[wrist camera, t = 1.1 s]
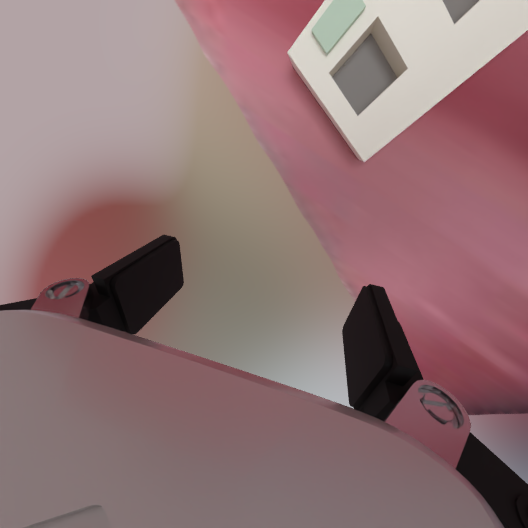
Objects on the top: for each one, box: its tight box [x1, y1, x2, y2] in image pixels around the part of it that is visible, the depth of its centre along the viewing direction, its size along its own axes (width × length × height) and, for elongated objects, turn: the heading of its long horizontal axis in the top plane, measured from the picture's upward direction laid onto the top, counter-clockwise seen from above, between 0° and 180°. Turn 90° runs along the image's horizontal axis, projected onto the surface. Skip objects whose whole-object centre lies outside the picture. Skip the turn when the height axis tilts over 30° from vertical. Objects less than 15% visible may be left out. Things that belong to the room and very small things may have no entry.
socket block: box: [287, 0, 528, 162], centre depth 20 cm, size 18×14×6 cm
